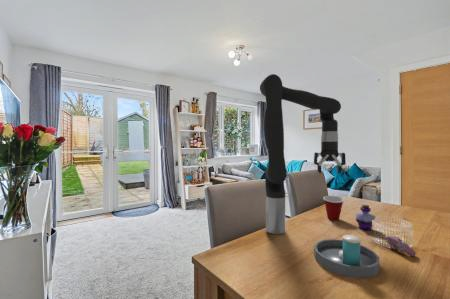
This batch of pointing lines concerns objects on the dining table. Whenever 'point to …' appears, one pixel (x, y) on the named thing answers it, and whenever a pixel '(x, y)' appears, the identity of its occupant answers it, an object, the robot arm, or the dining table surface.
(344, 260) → the bead jar
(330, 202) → the plastic cup
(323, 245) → the groove tray
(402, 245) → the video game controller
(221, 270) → the dining table surface
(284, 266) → the dining table surface
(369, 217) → the potion bottle
